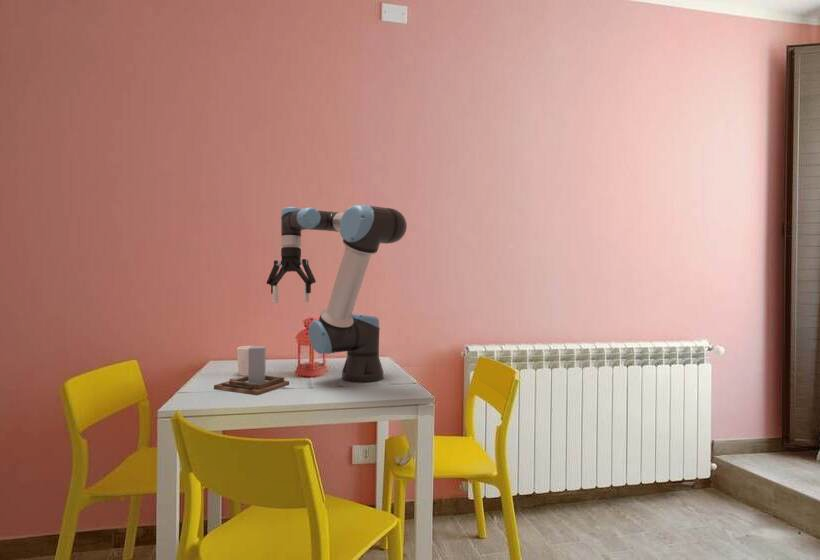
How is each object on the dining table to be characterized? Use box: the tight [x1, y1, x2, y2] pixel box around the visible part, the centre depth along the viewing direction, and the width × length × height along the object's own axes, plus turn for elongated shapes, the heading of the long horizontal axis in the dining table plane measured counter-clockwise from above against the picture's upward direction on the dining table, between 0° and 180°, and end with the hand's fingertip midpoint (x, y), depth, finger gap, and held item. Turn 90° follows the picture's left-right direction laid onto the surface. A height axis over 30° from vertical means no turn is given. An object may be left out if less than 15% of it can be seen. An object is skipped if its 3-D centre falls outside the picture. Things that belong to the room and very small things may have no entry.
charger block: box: [248, 345, 267, 384], centre depth 168 cm, size 5×5×12 cm
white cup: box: [236, 345, 251, 377], centre depth 189 cm, size 8×8×10 cm
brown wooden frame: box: [213, 374, 290, 396], centre depth 169 cm, size 18×16×3 cm
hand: (290, 302), depth 195 cm, fingers open, 13 cm apart
